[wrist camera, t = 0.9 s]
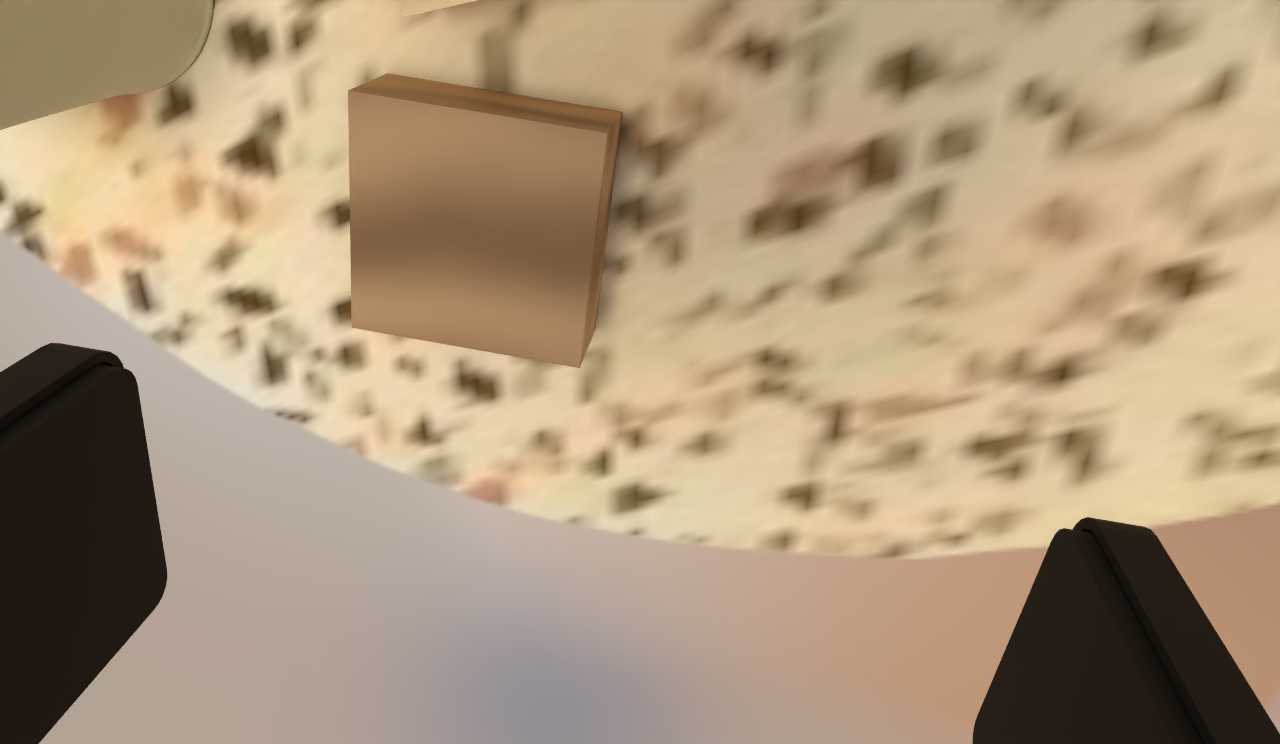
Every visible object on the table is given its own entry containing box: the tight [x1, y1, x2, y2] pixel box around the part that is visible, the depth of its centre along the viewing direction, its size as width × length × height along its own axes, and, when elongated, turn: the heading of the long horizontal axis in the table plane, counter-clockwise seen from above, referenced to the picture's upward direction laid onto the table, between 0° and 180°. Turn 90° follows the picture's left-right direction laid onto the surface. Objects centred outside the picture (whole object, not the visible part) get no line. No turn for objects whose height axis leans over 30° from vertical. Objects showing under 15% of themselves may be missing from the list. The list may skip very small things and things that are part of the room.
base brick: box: [348, 74, 622, 368], centre depth 35 cm, size 9×9×4 cm
